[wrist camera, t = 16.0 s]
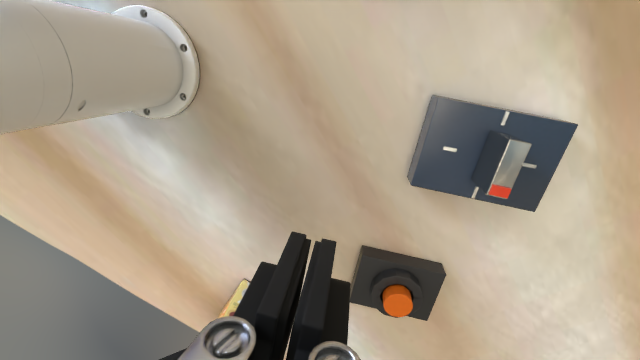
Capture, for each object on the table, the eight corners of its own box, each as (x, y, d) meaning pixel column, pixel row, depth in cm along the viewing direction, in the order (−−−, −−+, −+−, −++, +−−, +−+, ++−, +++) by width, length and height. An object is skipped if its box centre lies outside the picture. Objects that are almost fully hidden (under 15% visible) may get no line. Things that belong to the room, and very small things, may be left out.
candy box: (243, 277, 46) (190, 370, 32) (267, 291, 46) (224, 389, 32) (219, 312, 49) (161, 411, 35) (242, 325, 50) (193, 428, 35)
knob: (489, 129, 31) (511, 139, 27) (509, 133, 31) (534, 144, 27) (470, 179, 33) (487, 196, 29) (488, 182, 33) (508, 200, 29)
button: (379, 302, 40) (380, 313, 38) (386, 281, 39) (387, 291, 37) (406, 309, 40) (408, 320, 38) (414, 287, 38) (416, 298, 37)
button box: (349, 290, 44) (348, 310, 41) (362, 245, 41) (362, 262, 38) (423, 308, 44) (429, 330, 40) (441, 263, 41) (449, 282, 37)
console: (407, 176, 37) (410, 185, 34) (432, 94, 34) (439, 97, 31) (521, 201, 36) (535, 212, 33) (560, 119, 33) (579, 124, 30)
